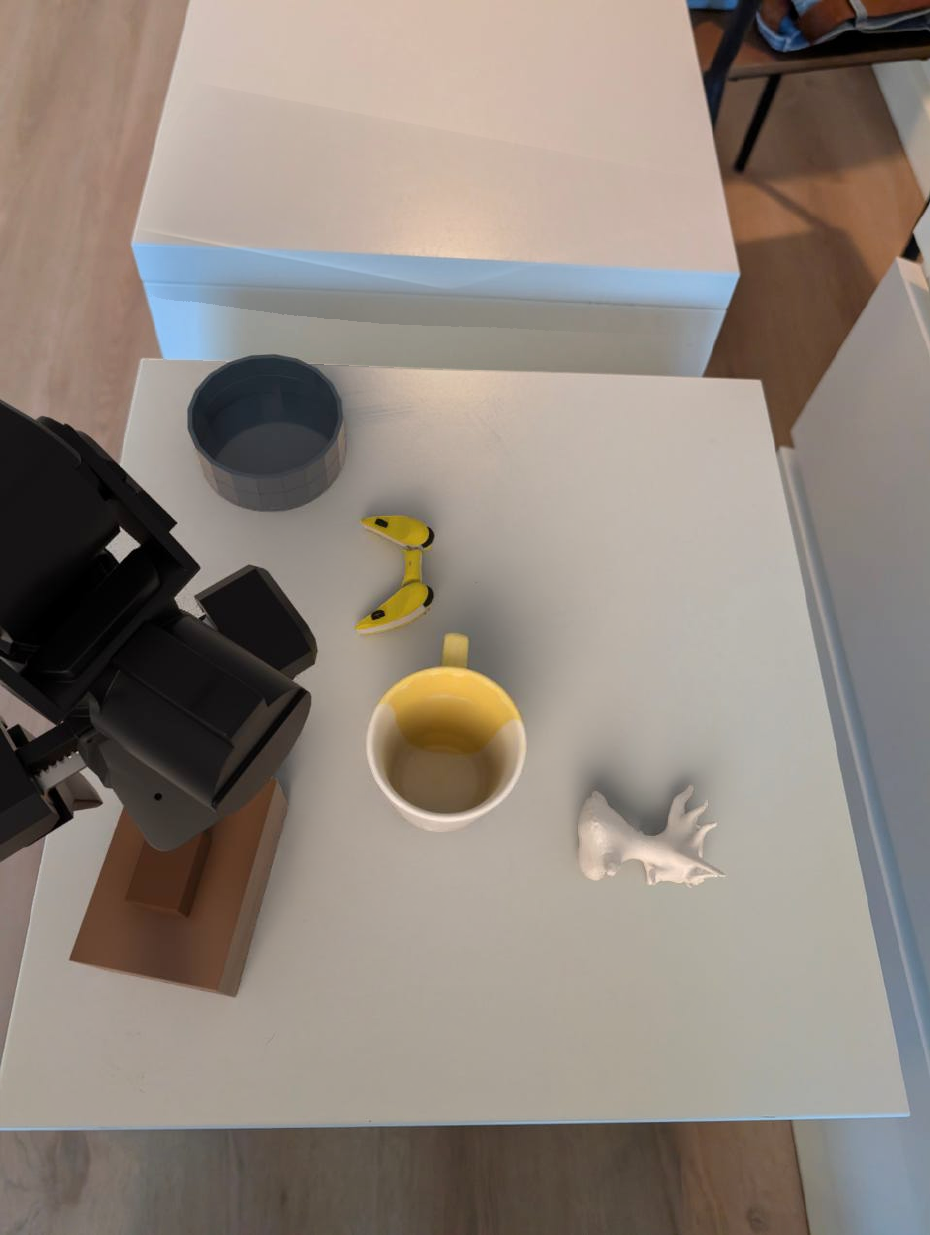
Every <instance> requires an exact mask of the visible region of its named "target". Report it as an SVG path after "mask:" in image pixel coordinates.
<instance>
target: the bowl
mask: <svg viewBox="0 0 930 1235" xmlns="http://www.w3.org/2000/svg"><path fill="white" fill-rule="evenodd" d="M186 413H187V415H186V416H187V420H186V421H187V422H186V424H187V425H186V427H187V432H188V435H189V438H190V442H191V443H192V447H193V450H194V453H195V456H196V459H197V462H198V464H199V467H200V469H201V472H202V474H203V476H204V478H205V480H206V482H207V483H208V485H209V486H210V487H211V489H213V491H214V492H216V493H217V495H219V496H220V497H221V498H223V499H224V500H226V501H227V502H229V503H231V504H233V505H235V506H237V507H241V508H243V509H247V510H251V511H257V512H263V513H264V512H265V513H266V512H267V513H268V512H269V513H273V512H274V513H275V512H284V511H289V510H294V509H297V508H300V507H302V506H304V505H307V504H309V503H311V502H312V501H314V500H316V499H318V498H319V497H321V496H322V495H323V494H324V493H325V492H327V491H328V490H329V488H331V486H332V485H333V484H334V483H335V481H336V480H337V479H338V477H339V475H340V474H341V472H342V469H343V466H344V464H345V458H346V450H347V449H346V437H345V436H346V435H345V424H344V412H343V401H342V399H341V396H340V394H339V392H338V390H337V388H336V387H335V385H334V382H332V381H331V379H329V378H328V376H326V375H325V374H324V373H323V372H322V371H321V370H320V369H319V368H318V367H316V366H314V365H312V364H310V363H308V362H306V361H303V360H302V359H299V358H297V357H292V356H287V355H282V354H276V353H269V354H268V353H267V354H251V355H247V356H245V357H241V358H237V359H234V360H231V361H229V362H227V363H225V364H223V365H221V366H220V367H218V368H217V369H215V370H213V371H212V372H209V374H208V375H207V376H206V377H205V378H204V379H203V380H202V381H201V383H200V384H199V385H198V386H197V387H196V388H195V389H194V391H193V393H192V397H191V399H190V402H189V404H188V406H187V410H186Z"/></svg>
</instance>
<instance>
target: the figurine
mask: <svg viewBox="0 0 930 1235" xmlns="http://www.w3.org/2000/svg"><path fill="white" fill-rule="evenodd" d="M693 792H694V786H693V784H690V785H689V786H687V787H686V789H685V790H684V791H683V792H680V793H678V794H677V795H676V796H675V797H674V798H673V801H672V803H671V806H670V810H669V813H668V818H667V825H666V827H665V829H664V830H663V831H662V832H660V833H659V834H656V835H647V834H644V833H643V831H642V830H639V831H637V830H635V828H633V827H632V826H631V825H630V824H629V823H628V822H626V820H625V819H624V818H623V817H622V816H621V815H620V814H619V813H618V812H617V811H615V810H614V809H613V808H612V807H611V806H610V805H609V803H608V800H607V799H606V797H605V796H604V795H603V794H601V793H600V792H599V791H597V790H593V791H592V792H591V797H589V798H587V799H586V800H585V803H584V804H583V806H582V809H581V810H580V813H579V816H578V820H577V835H578V839H579V841H578V847H577V848H578V849H577V862H578V865H579V869H580V871H581V872H582V874H583V875H584V876H585V877H586V878H588V879H589V880H592V881H599V880H602V878H604V876H606V874H607V875H608V876H610V877H615V875H616V874H617V872H619V870H620V869H621V866H622V863H624V862H626V861H628V860H634V859H635V860H638V861H641V862H642V863H643V865H644V866H643V867H644V869H645V870H644V871H645V879H646V883H647V885H649V886H655V885H656V884H657V883H659V882H660V881H663V882H672V883H676V884H681V883H685V885H686V886H687V887H688V888H689V889H693V888H692V886H691V885H693V886H698V885H699V884H701V883H703V882H705V879H707V878H718V877H720V878H725V877H727V876H726V874H725V873H724V872H723V871H722V870H720V869H719V868H717V867H716V866H714V865H713V864H710V863H709V862H708V861H706V860H704V857H703V855H704V840H705V837H706V834H707V833H708V831H710V830H711V829H713V828H716V827H717V825H718V823H717V822H713V821H711V822H707V823H704V824H702V825H699V824H697V823H698V822H697V821H698V818H699V817H700V816H701V815H702V814H703V813H704V812H705V811H706V809H707V808H708V806H709V800H708V798H707V799H705V801H704V802H703V803H702V804H701V805H699V806H698V807H696V808H693V809H691V810H689V811H688V812H685V810H686V809H685V804H686V802H687V800H689V798H691V797H692V794H693ZM704 871H707V872H704ZM690 884H691V885H690Z"/></svg>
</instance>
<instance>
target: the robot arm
mask: <svg viewBox="0 0 930 1235" xmlns="http://www.w3.org/2000/svg"><path fill="white" fill-rule="evenodd" d="M177 525H178V521H177V520H176V519H174V518H173V517H172V515H170V514H169V513H168V511H166V509H164V508H163V507H162V505H160V503H158V502H157V501H156V500H155V499H154V498H153V497H152V496H151V495H150V494H149V493H148V492H147V491H146V490H145V489H144V488H143V487H142V485H140V484H139V483H138V482H137V481H136V480H135V479H134V478H133V477H132V476H131V475H130V474H129V473H128V472H127V470H125V469H124V468H123V467H122V466H121V465H120V464H119V463H118V462H117V461H116V460H115V459H114V458H113V457H112V456H111V455H110V454H109V453H108V452H107V451H106V450H105V449H104V448H103V447H102V446H100V444H99V443H98V442H96V440H94V438H92V437H91V436H90V435H89V434H87V433H86V432H84V431H82V430H77V429H75V428H74V427H73V426H71V425H70V424H69V423H67V422H66V423H61V422H60V421H58V420H55V419H54V418H52V417H50V416H45V415H40V416H38V417H37V418H35V419H34V418H33V417H32V416H30V415H28V414H26V413H25V412H23V411H21V410H20V409H18V408H16V407H14V406H13V405H11V404H10V403H8V402H6V401H5V400H3V399H1V398H0V686H1V687H2V688H3V689H4V690H6V691H7V692H8V693H10V694H11V695H12V696H14V697H15V698H16V699H18V700H19V701H21V702H22V703H23V704H25V705H26V706H28V707H29V708H30V709H32V710H33V711H35V712H36V713H38V715H40V716H41V717H43V718H44V719H46V720H47V721H49V722H50V723H52V724H53V725H54V727H52V728H50V729H48V730H47V731H45V732H44V733H41V735H39V736H37V737H36V736H35V735H34V734H33V733H31V732H30V731H29V730H27V729H26V728H25V727H24V726H22V725H21V724H20V723H17V724H14V725H13V726H12V727H10V728H8V727H9V726H8V724H7V721H6V720H5V718H4V717H3V716H2V715H0V863H2V862H3V861H5V860H7V859H8V858H9V857H11V856H13V855H14V854H16V853H18V852H19V851H21V850H23V849H25V848H28V847H30V846H33V845H34V844H35V843H36V842H38V841H40V840H42V839H43V838H45V837H46V836H48V835H49V834H51V833H53V832H54V831H56V830H57V829H59V828H60V827H62V826H64V825H66V824H67V823H68V822H70V821H72V820H73V819H74V818H75V817H74V816H75V814H74V813H75V812H78V811H85V810H89V809H91V810H92V809H96V808H99V807H101V806H103V804H104V801H103V799H102V797H101V796H100V794H99V792H98V791H97V789H96V788H95V787H94V785H93V784H92V783H91V782H90V781H89V780H88V779H87V778H86V777H85V776H84V774H83V773H81V772H82V771H83V770H86V768H88V769H89V770H90V771H91V772H92V773H93V774H94V775H95V776H96V777H98V778H97V779H98V780H99V781H100V783H101V785H102V786H103V788H104V789H105V788H106V789H110V790H112V791H113V792H114V794H115V795H116V797H117V798H118V800H119V802H120V803H121V804H122V807H125V809H126V810H127V812H128V813H129V815H130V817H131V818H132V820H133V821H134V823H135V824H136V826H137V827H138V829H139V830H140V832H141V833H142V835H143V836H144V838H145V839H146V841H147V842H148V844H149V845H150V846H151V847H153V848H154V849H156V850H159V851H172V850H175V849H177V848H179V847H181V846H182V845H184V844H185V843H187V842H188V841H190V840H191V839H193V838H194V837H196V836H197V835H199V834H200V833H202V832H203V831H205V830H206V829H208V828H209V827H211V826H212V825H214V824H215V823H217V822H218V821H220V820H221V819H223V818H224V817H226V816H230V815H232V814H234V813H235V812H237V811H239V810H240V809H241V808H243V807H244V806H245V805H246V804H248V803H249V802H250V801H251V800H252V799H253V798H254V797H255V796H256V795H257V794H258V793H259V792H260V791H261V790H262V789H263V787H264V786H265V785H267V784H268V783H270V782H269V781H270V779H273V777H274V776H275V775H276V773H277V772H278V771H279V769H280V768H281V766H282V765H283V763H284V762H285V760H286V759H287V758H288V756H289V755H290V753H291V752H292V750H293V748H294V747H295V745H296V743H297V741H298V739H299V738H300V736H301V734H302V731H303V730H304V728H305V726H306V724H307V720H308V717H309V715H310V712H311V707H312V694H311V691H309V690H308V689H306V688H305V687H304V686H302V685H300V684H299V683H297V681H294V680H295V678H296V677H297V676H299V675H300V674H301V673H303V672H304V671H306V670H308V669H310V668H311V667H313V666H315V665H316V661H317V656H318V652H319V650H318V645H317V639H316V636H315V635H314V633H313V631H312V630H311V628H310V626H309V624H308V623H307V622H306V620H305V619H304V617H303V616H302V615H301V613H300V612H299V610H297V608H296V607H295V606H294V604H293V603H292V601H291V600H290V599H289V598H288V596H287V595H286V593H285V592H284V591H283V589H282V587H281V586H280V585H279V584H278V582H277V581H276V580H275V578H274V577H273V576H272V574H271V572H270V571H269V570H267V569H265V568H264V567H260V566H256V565H254V564H249V563H248V564H246V565H245V566H243V567H241V568H240V569H238V570H236V571H234V572H233V573H231V574H229V575H227V576H226V577H224V578H222V579H220V580H219V581H217V582H215V583H213V584H212V585H210V586H208V587H206V588H205V589H203V590H201V591H199V592H197V593H196V594H194V595H193V598H194V600H195V603H196V605H197V607H198V608H199V610H201V612H202V613H203V614H202V615H201V616H199V617H197V616H195V615H193V614H192V613H191V612H189V611H187V610H185V609H182V608H180V607H179V605H178V602H177V601H176V597H177V596H178V595H179V594H180V593H181V591H182V590H183V589H184V588H185V587H187V585H188V584H189V582H191V581H192V580H193V578H194V577H195V576H196V575H197V574H198V573H199V571H201V569H202V568H201V565H200V564H199V563H198V562H197V561H196V559H195V558H194V557H193V556H192V555H191V554H190V553H189V552H188V550H186V549H185V547H184V546H183V545H182V544H181V543H180V542H179V541H178V540H177V539H176V537H174V535H173V534H172V533H171V531H172V530H173V529H174V528H175V527H176V526H177ZM121 529H122V530H123V531H124V532H125V533H126V534H127V535H128V536H130V537H131V538H132V539H133V540H134V541H135V542H137V544H139V546H137V547H136V548H134V549H132V550H131V551H130V552H128V554H127V555H126V556H125V557H124V558H123V559H122V560H121V562H119V560H118V559H117V558H116V557H115V555H114V554H113V552H112V551H110V550H109V549H107V547H108V546H109V545H110V544H111V543H112V542H113V541H114V539H115V538H117V536H118V535H120V533H122V532H121Z"/></svg>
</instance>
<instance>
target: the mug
mask: <svg viewBox="0 0 930 1235" xmlns="http://www.w3.org/2000/svg"><path fill="white" fill-rule="evenodd" d="M442 643H443V644H442V648H441V658H440V663H439V664H440V665H439V666H432V667H428V668H423V669H420V670H418V671H417V670H416V671H414V672H411V673H410V674H408V675H406V676H404V677H403V678H401V679H400V680H398V681H397V682H395V683H394V684H393V685H392V686H390V687H389V688H388V689H387V691H385V692H384V694H383V695H382V696H381V697H380V698H379V700H378V701H377V703H376V704H375V706H374V708H373V710H372V712H371V715H370V718H369V720H368V724H367V728H366V733H365V734H366V735H365V752H366V753H365V754H366V759H367V763H368V767H369V769H370V772H371V774H372V777H373V778H374V780H375V782H376V784H377V786H378V787H379V789H380V790H381V792H382V793H383V795H384V796H385V797H386V798H387V800H388V801H389V802H390V803H391V805H392V806H393V808H395V810H396V811H397V813H399V815H400V816H401V817H403V819H405V820H406V821H407V822H408V823H410V824H412V825H414V826H415V827H418V828H420V829H422V830H425V831H429V832H436V833H443V832H444V833H446V832H452V831H457V830H460V829H462V828H464V827H467V826H468V825H470V824H472V823H473V822H474V821H476V820H477V819H479V818H480V817H482V816H484V815H486V814H487V813H489V812H491V811H492V810H493V809H494V808H496V807H497V806H498V805H499V804H501V803H502V802H503V801H504V800H505V799H506V798H507V796H508V795H509V794H510V793H511V792H512V790H513V789H514V788H515V786H516V785H517V782H518V781H519V779H520V777H521V776H522V775H521V774H522V772H523V770H524V766H525V763H526V759H527V753H528V752H527V751H528V736H527V730H526V726H525V721H524V719H523V716H522V713H521V712H520V709H519V708H518V706H517V704H516V702H515V701H514V699H513V698H512V696H510V695H509V693H508V692H507V691H506V690H505V689H504V688H503V687H502V686H501V685H500V684H498V683H497V682H495V681H494V680H493V679H491V678H490V677H489V676H487V675H484V674H483V673H481V672H478V671H476V670H473V669H470V668H467V666H468V655H469V654H468V653H469V637H468V636H467V635H464V634H462V633H457V632H450V633H447V634H445V635H444V637H443V642H442Z"/></svg>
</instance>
